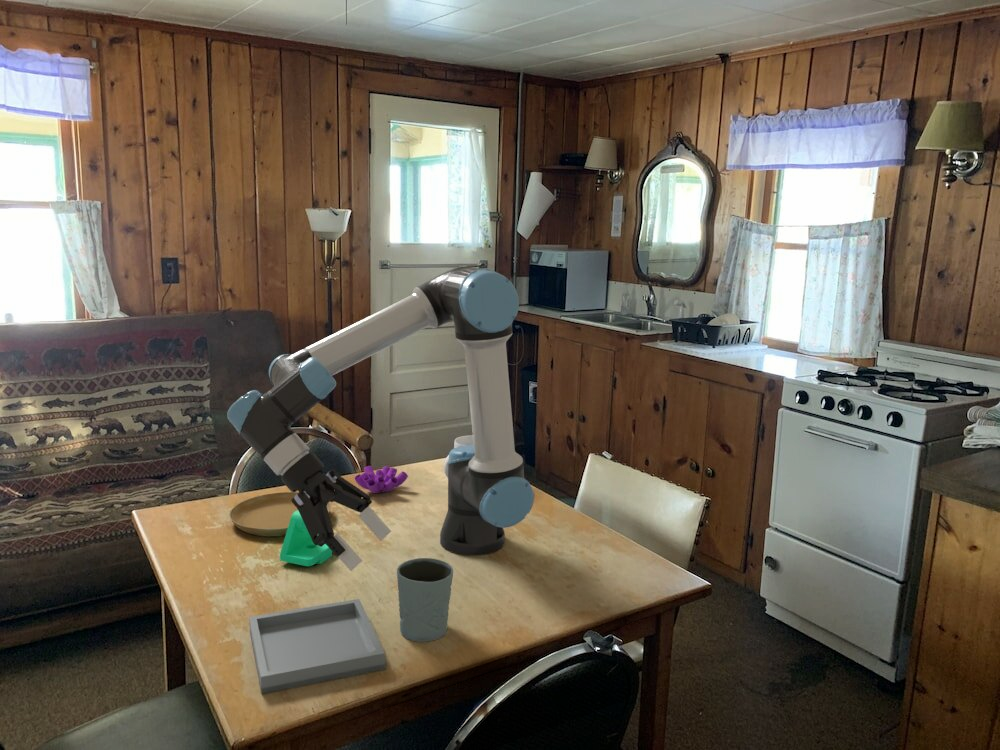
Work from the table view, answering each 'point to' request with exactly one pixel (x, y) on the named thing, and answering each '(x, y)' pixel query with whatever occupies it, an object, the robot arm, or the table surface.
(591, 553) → the table surface
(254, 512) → the plant saucer
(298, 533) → the camera mount
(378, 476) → the purple coral
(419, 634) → the grey green cup
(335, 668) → the tray
